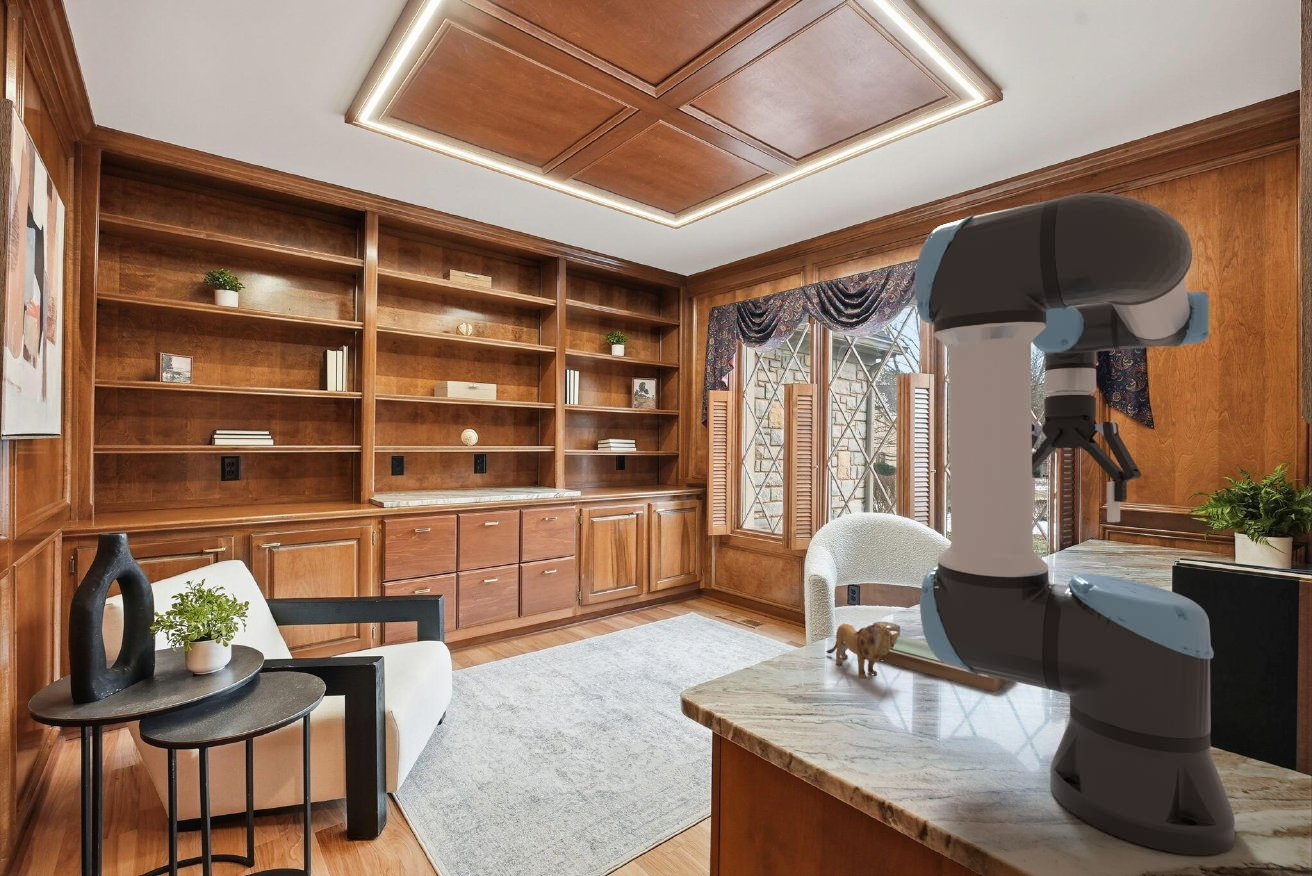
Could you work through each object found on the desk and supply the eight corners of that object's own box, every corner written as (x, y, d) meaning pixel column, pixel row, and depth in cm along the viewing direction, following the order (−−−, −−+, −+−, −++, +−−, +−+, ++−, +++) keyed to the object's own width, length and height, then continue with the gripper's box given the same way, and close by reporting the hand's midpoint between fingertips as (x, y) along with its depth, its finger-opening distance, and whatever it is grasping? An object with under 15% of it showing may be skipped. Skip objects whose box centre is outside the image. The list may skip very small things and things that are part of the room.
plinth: (993, 691, 96) (993, 672, 97) (867, 656, 112) (867, 640, 112) (1015, 676, 103) (1015, 658, 103) (893, 645, 119) (894, 629, 119)
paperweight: (892, 646, 118) (892, 630, 118) (868, 640, 122) (868, 625, 122) (904, 641, 122) (904, 626, 122) (880, 635, 125) (880, 620, 125)
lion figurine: (901, 681, 100) (902, 625, 101) (877, 686, 98) (877, 629, 98) (837, 653, 114) (838, 603, 114) (814, 657, 111) (815, 606, 111)
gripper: (1166, 391, 100) (1165, 524, 99) (1010, 400, 121) (1009, 510, 121) (1144, 388, 96) (1144, 526, 96) (987, 398, 117) (986, 511, 117)
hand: (1068, 517), depth 108 cm, fingers open, 13 cm apart
